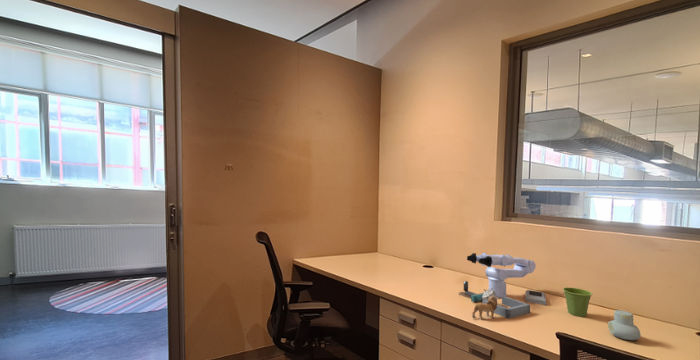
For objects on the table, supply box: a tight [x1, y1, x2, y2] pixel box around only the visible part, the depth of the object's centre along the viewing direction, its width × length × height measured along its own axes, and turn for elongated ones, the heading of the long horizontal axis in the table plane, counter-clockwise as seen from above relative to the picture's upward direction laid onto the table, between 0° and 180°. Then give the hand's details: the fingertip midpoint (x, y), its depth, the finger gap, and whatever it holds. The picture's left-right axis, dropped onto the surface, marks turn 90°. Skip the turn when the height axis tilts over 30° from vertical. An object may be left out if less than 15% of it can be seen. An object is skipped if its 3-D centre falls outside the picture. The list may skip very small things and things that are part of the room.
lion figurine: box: [471, 296, 498, 321], centre depth 143 cm, size 15×5×9 cm, turn 116°
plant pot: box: [562, 287, 593, 318], centre depth 151 cm, size 12×12×11 cm
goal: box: [481, 296, 531, 319], centre depth 153 cm, size 17×14×4 cm
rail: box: [458, 291, 471, 300], centre depth 173 cm, size 3×10×1 cm, turn 29°
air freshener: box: [607, 309, 642, 341], centre depth 127 cm, size 11×8×10 cm
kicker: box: [463, 280, 483, 303], centre depth 171 cm, size 11×11×8 cm
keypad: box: [525, 289, 547, 306], centre depth 172 cm, size 10×4×15 cm
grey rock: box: [482, 288, 500, 301], centre depth 161 cm, size 9×8×10 cm
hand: (473, 259), depth 169 cm, fingers open, 7 cm apart
